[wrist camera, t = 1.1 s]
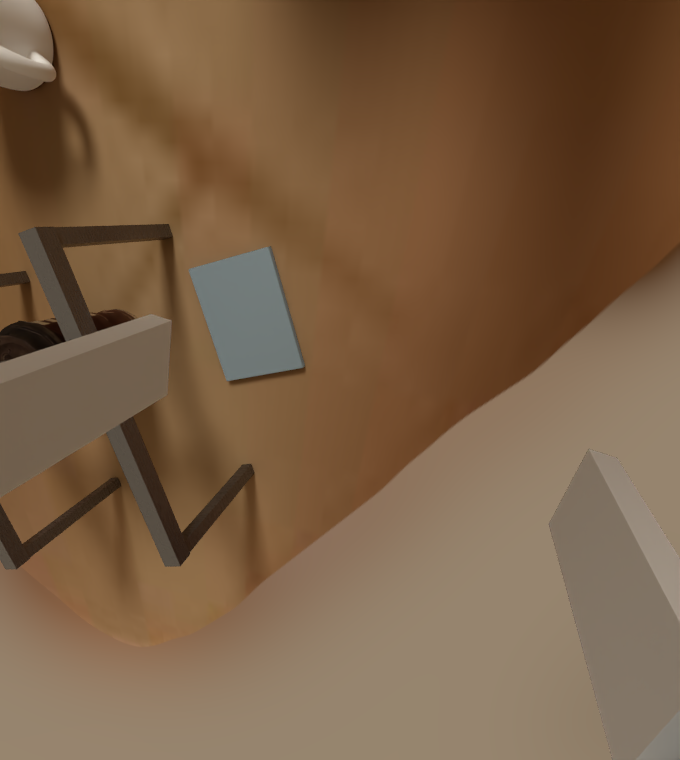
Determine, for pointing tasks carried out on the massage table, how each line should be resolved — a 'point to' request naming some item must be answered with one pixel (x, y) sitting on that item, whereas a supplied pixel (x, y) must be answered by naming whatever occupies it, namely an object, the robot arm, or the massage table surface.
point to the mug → (24, 46)
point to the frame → (125, 437)
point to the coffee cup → (48, 333)
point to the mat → (248, 315)
